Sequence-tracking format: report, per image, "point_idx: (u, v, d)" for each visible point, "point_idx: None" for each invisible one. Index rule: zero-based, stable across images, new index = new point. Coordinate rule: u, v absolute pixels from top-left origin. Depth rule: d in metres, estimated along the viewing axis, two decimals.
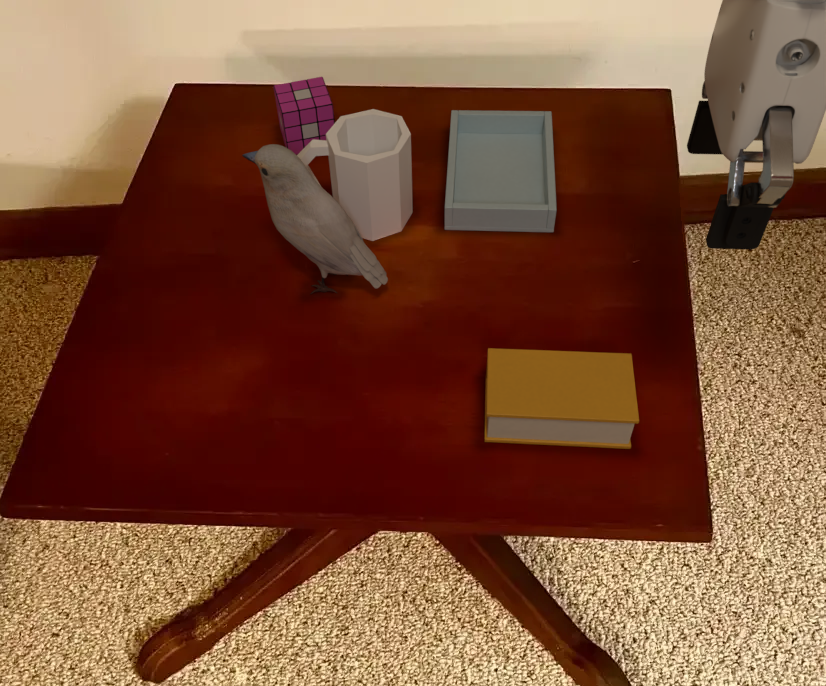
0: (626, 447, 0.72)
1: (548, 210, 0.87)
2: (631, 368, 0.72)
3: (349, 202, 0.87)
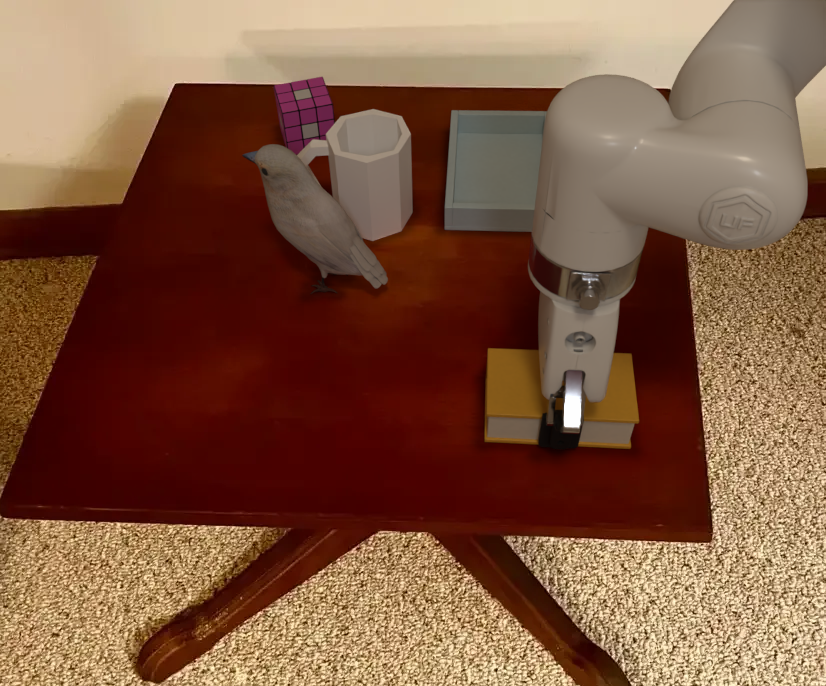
0: (626, 447, 0.72)
1: None
2: (631, 368, 0.72)
3: (349, 202, 0.87)
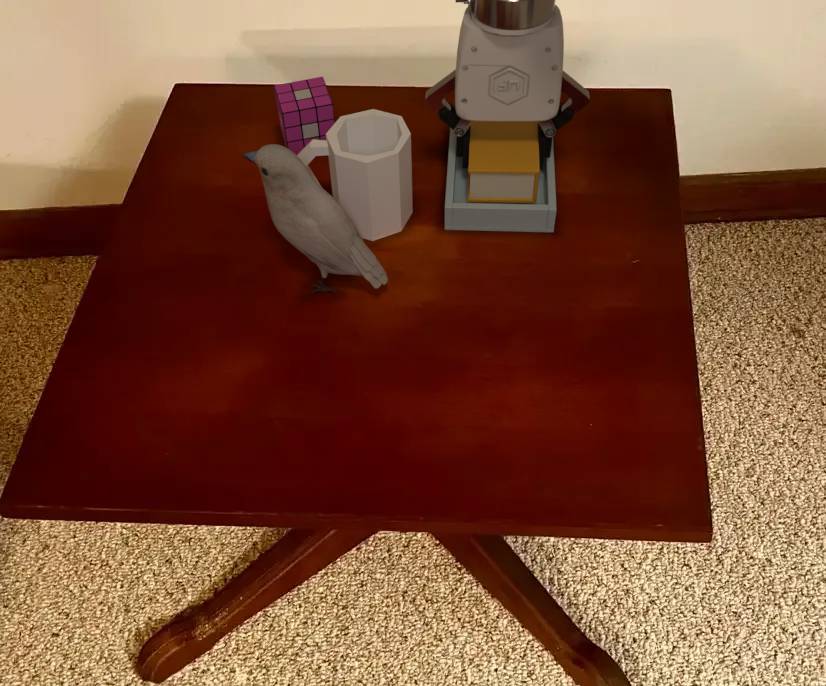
0: (467, 197, 0.90)
1: (548, 210, 0.87)
2: (522, 170, 0.86)
3: (349, 202, 0.87)
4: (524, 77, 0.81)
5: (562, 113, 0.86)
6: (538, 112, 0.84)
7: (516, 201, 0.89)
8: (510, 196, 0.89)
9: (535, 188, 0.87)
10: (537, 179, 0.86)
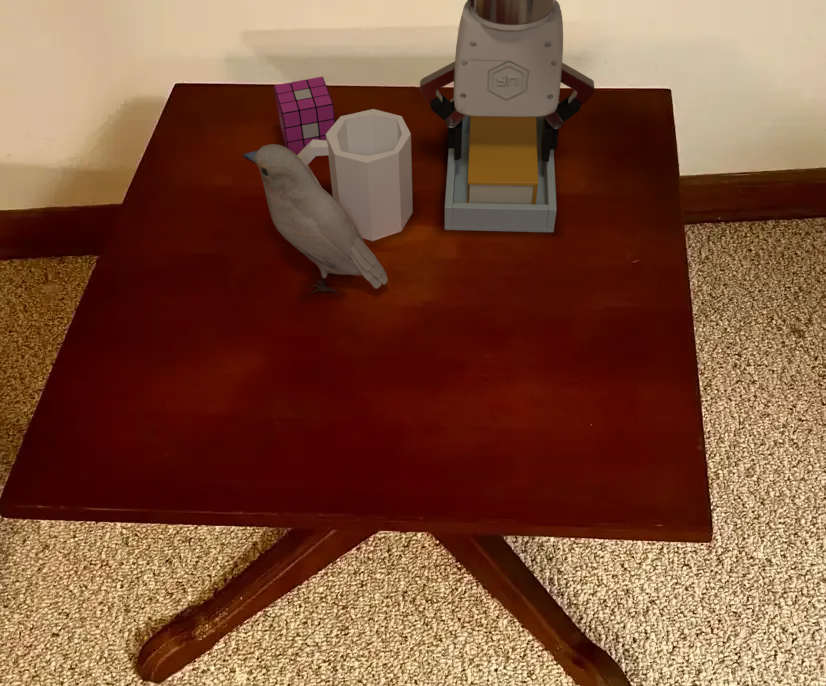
0: None
1: (548, 210, 0.87)
2: (521, 181, 0.87)
3: (349, 202, 0.87)
4: (523, 73, 0.81)
5: (569, 105, 0.86)
6: (537, 107, 0.84)
7: None
8: None
9: (534, 199, 0.89)
10: (535, 190, 0.88)
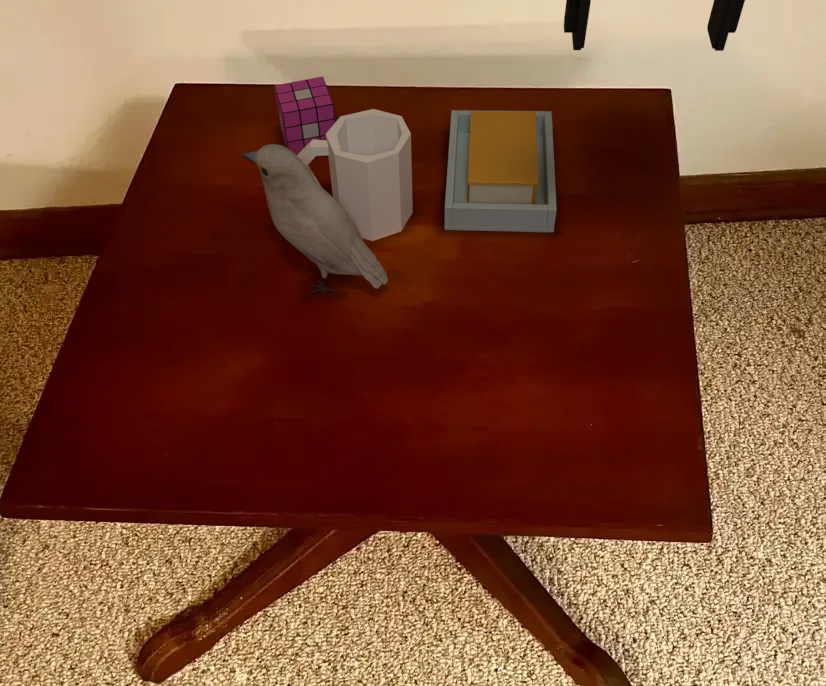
0: None
1: (548, 210, 0.87)
2: (521, 181, 0.87)
3: (349, 202, 0.87)
4: None
5: None
6: None
7: None
8: None
9: (534, 199, 0.89)
10: (535, 190, 0.88)
